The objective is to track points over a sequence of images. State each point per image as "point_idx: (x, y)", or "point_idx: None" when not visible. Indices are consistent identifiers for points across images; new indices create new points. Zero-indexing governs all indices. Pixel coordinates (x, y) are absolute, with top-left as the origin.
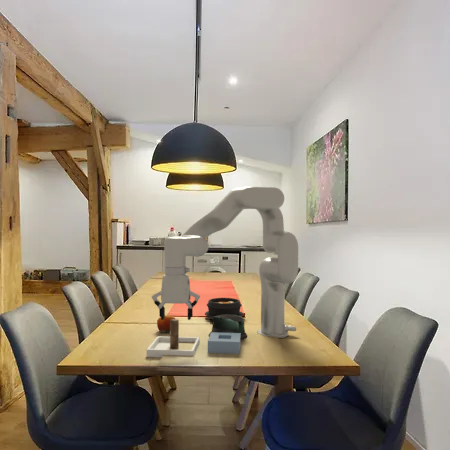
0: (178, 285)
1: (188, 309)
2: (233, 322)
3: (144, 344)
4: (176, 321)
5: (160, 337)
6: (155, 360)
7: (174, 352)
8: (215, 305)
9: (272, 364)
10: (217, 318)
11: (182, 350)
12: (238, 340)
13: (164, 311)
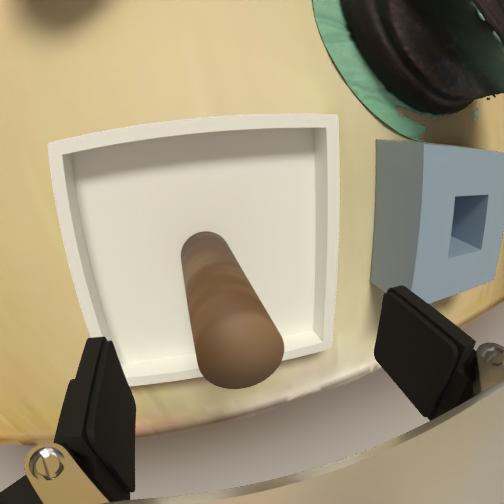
0: None
1: (432, 417)
2: None
3: (7, 194)
4: (268, 371)
5: (70, 152)
6: (171, 388)
7: None
8: None
9: (497, 294)
10: (462, 2)
11: (284, 358)
12: (495, 262)
13: (104, 399)
